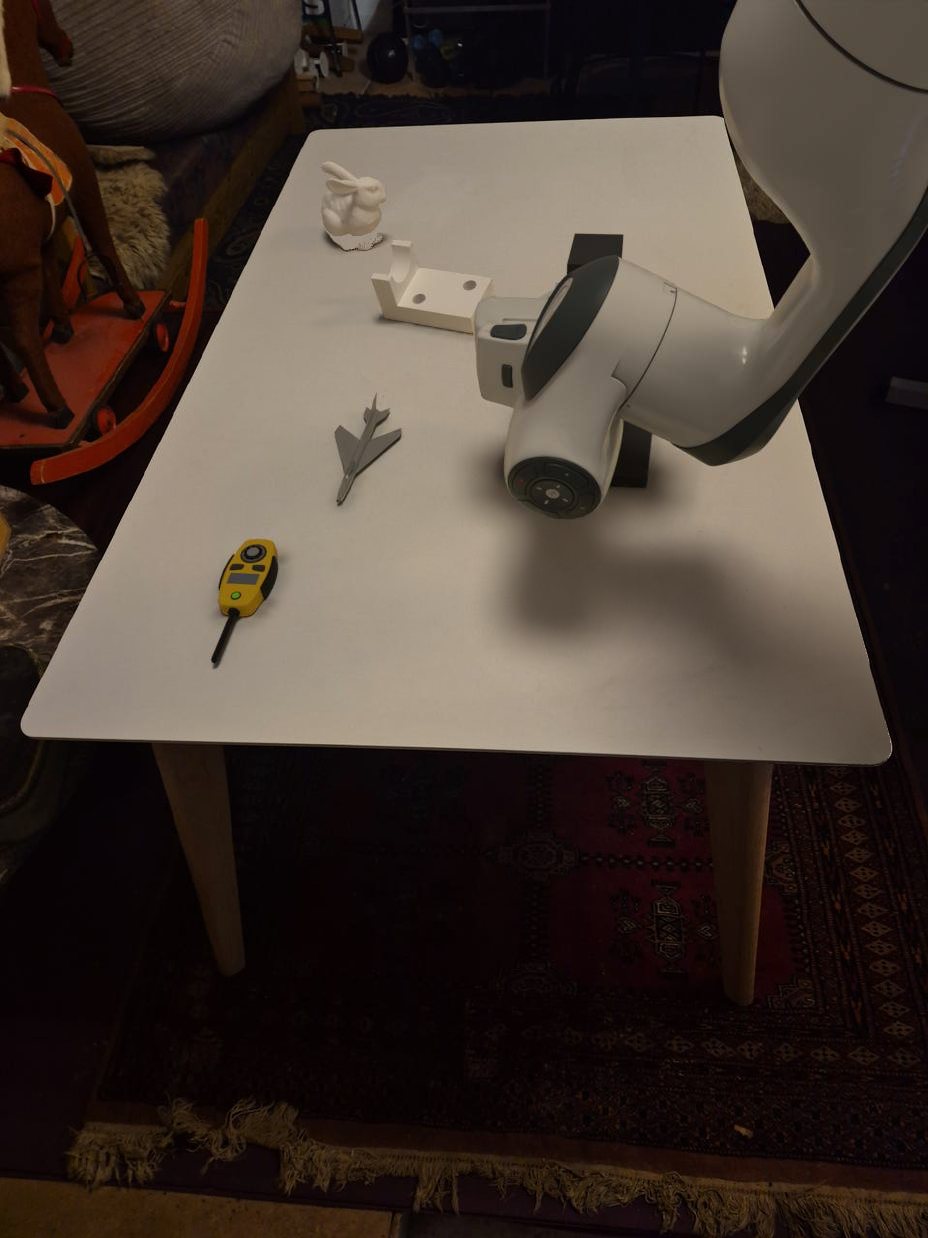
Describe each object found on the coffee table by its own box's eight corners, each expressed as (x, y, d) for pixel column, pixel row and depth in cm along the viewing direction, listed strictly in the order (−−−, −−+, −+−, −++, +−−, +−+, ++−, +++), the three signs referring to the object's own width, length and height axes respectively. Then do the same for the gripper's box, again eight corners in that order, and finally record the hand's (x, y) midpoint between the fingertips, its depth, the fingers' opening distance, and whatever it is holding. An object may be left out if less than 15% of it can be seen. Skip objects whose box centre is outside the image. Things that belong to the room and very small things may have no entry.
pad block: (616, 332, 86) (623, 233, 79) (611, 365, 82) (618, 264, 75) (572, 331, 87) (574, 232, 80) (564, 363, 83) (566, 263, 76)
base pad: (656, 386, 98) (659, 357, 95) (646, 487, 87) (649, 458, 84) (535, 380, 101) (535, 352, 98) (510, 478, 89) (508, 449, 87)
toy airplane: (303, 504, 89) (298, 487, 87) (356, 388, 102) (353, 371, 101) (374, 509, 88) (370, 492, 86) (419, 391, 101) (416, 374, 99)
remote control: (283, 536, 83) (235, 655, 73) (287, 550, 85) (241, 669, 75) (236, 534, 84) (182, 652, 74) (241, 549, 85) (189, 666, 76)
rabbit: (399, 241, 128) (388, 155, 119) (351, 266, 124) (336, 179, 115) (348, 220, 134) (333, 137, 125) (300, 243, 130) (282, 159, 121)
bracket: (386, 323, 114) (370, 277, 107) (408, 285, 116) (394, 239, 110) (475, 339, 110) (464, 292, 103) (496, 299, 112) (486, 251, 106)
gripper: (709, 343, 68) (712, 260, 77) (458, 333, 72) (488, 255, 81) (699, 410, 73) (702, 325, 82) (463, 397, 77) (491, 317, 85)
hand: (594, 290), depth 81 cm, fingers closed on pad block, 4 cm apart
